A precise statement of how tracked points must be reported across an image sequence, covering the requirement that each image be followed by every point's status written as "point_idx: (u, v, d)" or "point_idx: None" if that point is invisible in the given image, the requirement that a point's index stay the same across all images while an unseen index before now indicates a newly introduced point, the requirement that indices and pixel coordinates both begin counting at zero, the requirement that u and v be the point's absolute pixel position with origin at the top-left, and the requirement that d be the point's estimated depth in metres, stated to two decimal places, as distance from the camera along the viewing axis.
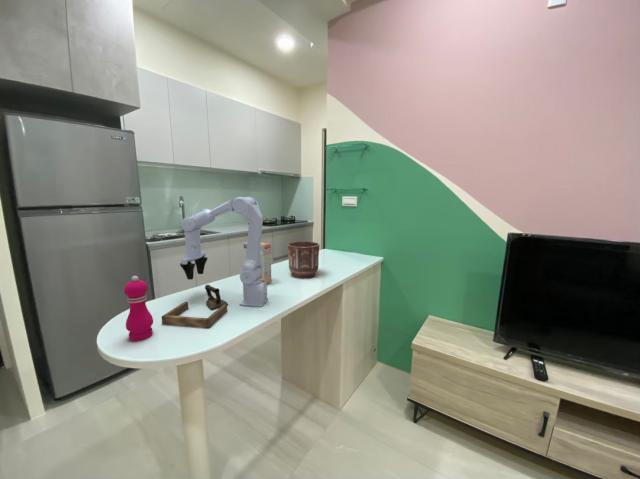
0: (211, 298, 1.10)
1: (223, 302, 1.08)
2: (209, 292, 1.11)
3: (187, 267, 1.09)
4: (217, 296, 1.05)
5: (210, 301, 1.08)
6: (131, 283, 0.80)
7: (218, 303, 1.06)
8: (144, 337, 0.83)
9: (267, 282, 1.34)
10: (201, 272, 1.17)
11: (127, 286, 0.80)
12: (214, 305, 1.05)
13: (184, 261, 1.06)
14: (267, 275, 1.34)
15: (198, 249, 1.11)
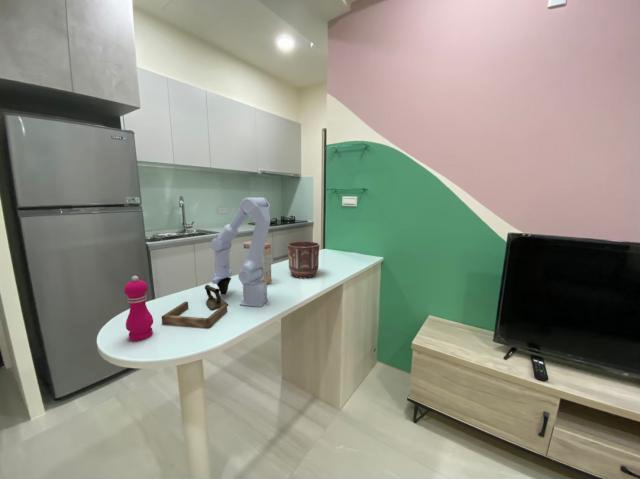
0: (211, 298, 1.10)
1: (223, 302, 1.08)
2: (209, 292, 1.11)
3: (221, 283, 1.16)
4: (217, 296, 1.05)
5: (210, 301, 1.08)
6: (131, 283, 0.80)
7: (218, 303, 1.06)
8: (144, 337, 0.83)
9: (267, 282, 1.34)
10: None
11: (127, 286, 0.80)
12: (214, 305, 1.05)
13: (215, 281, 1.09)
14: (267, 275, 1.34)
15: (227, 268, 1.15)
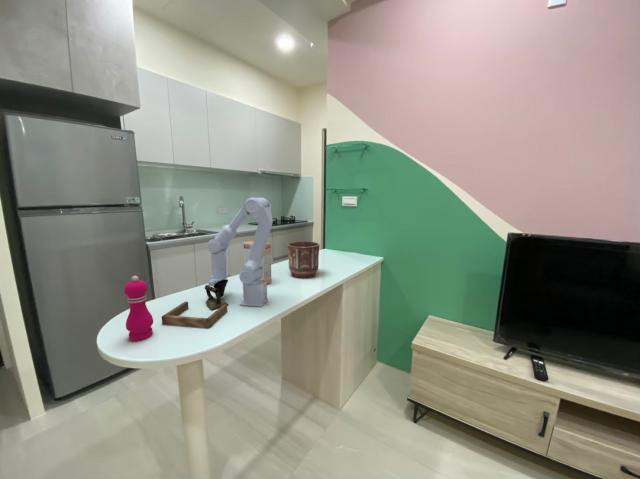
0: (211, 298, 1.10)
1: (223, 302, 1.08)
2: (209, 292, 1.11)
3: (217, 285, 1.14)
4: (217, 296, 1.05)
5: (210, 301, 1.08)
6: (131, 283, 0.80)
7: (218, 303, 1.06)
8: (144, 337, 0.83)
9: (267, 282, 1.34)
10: None
11: (127, 286, 0.80)
12: (214, 305, 1.05)
13: (211, 283, 1.07)
14: (267, 275, 1.34)
15: (224, 270, 1.12)
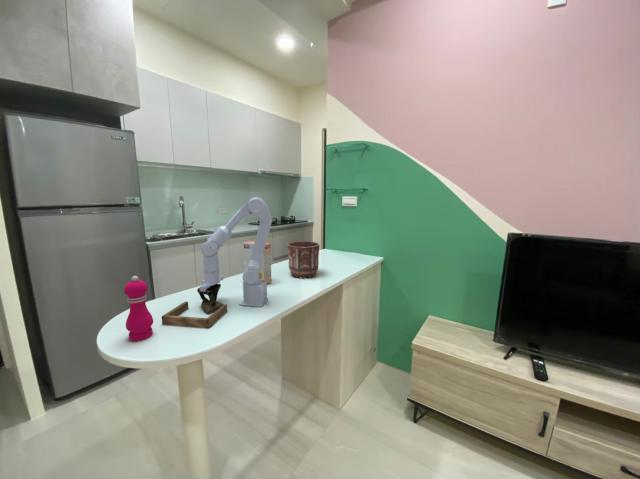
0: (205, 301, 1.06)
1: (219, 303, 1.04)
2: (202, 295, 1.07)
3: (210, 290, 1.08)
4: (212, 298, 1.02)
5: (205, 304, 1.04)
6: (131, 283, 0.80)
7: (214, 305, 1.03)
8: (144, 337, 0.83)
9: (267, 282, 1.34)
10: None
11: (127, 286, 0.80)
12: (210, 308, 1.01)
13: (203, 288, 1.01)
14: (267, 275, 1.34)
15: (216, 274, 1.06)
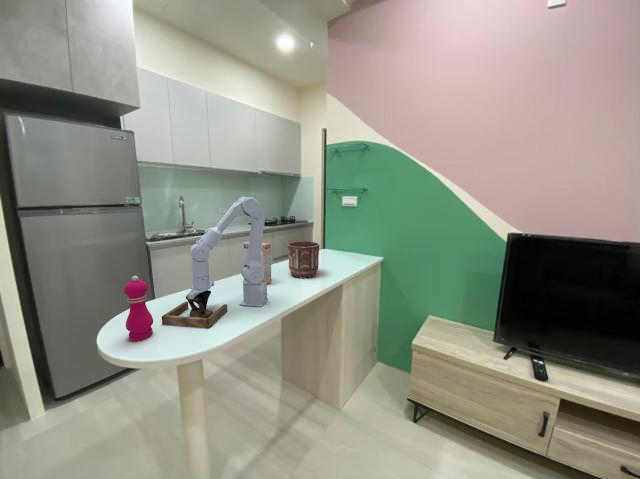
0: (194, 309, 0.99)
1: (208, 312, 0.97)
2: (191, 302, 1.00)
3: (200, 297, 1.01)
4: (200, 306, 0.94)
5: (194, 312, 0.97)
6: (131, 283, 0.80)
7: (203, 314, 0.96)
8: (144, 337, 0.83)
9: (267, 282, 1.34)
10: None
11: (127, 286, 0.80)
12: (198, 317, 0.94)
13: (191, 295, 0.93)
14: (267, 275, 1.34)
15: (206, 280, 0.99)
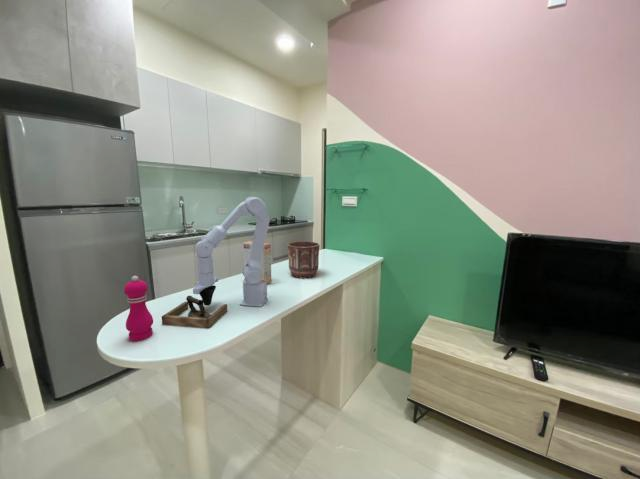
0: (194, 311, 0.98)
1: (208, 315, 0.96)
2: (191, 304, 0.99)
3: (204, 293, 1.03)
4: (201, 308, 0.94)
5: (193, 314, 0.96)
6: (131, 283, 0.80)
7: (202, 316, 0.95)
8: (144, 337, 0.83)
9: (267, 282, 1.34)
10: None
11: (127, 286, 0.80)
12: None
13: (196, 290, 0.96)
14: (267, 275, 1.34)
15: (211, 276, 1.02)
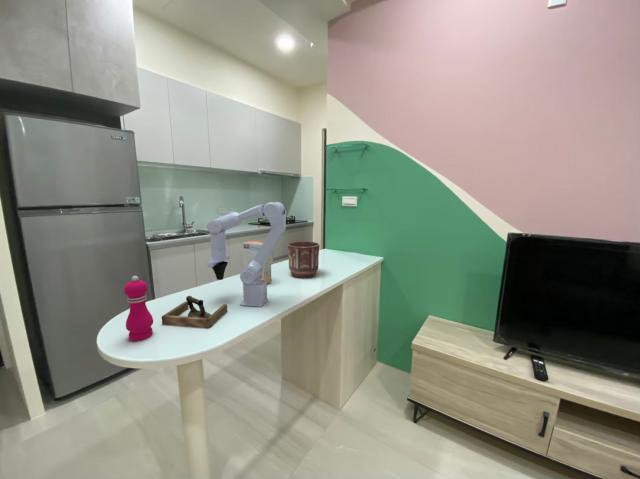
0: (193, 311, 0.98)
1: (208, 315, 0.96)
2: (191, 304, 0.99)
3: (217, 267, 1.11)
4: (201, 309, 0.94)
5: (193, 314, 0.96)
6: (131, 283, 0.80)
7: (202, 316, 0.95)
8: (144, 337, 0.83)
9: (267, 282, 1.34)
10: None
11: (127, 286, 0.80)
12: None
13: (210, 264, 1.04)
14: (267, 275, 1.34)
15: (223, 251, 1.09)
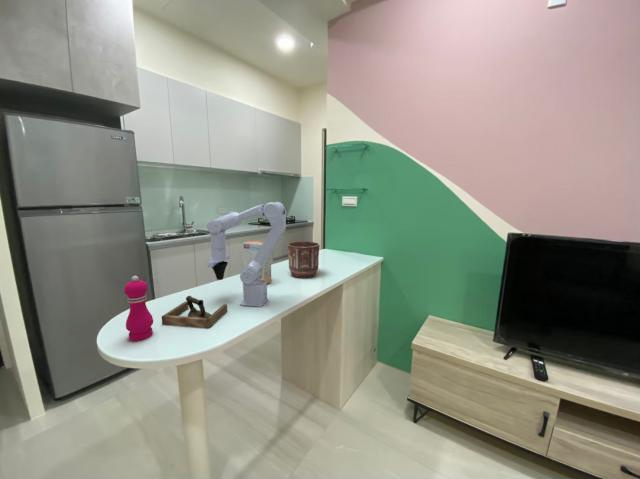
0: (193, 311, 0.98)
1: (208, 315, 0.96)
2: (191, 304, 0.99)
3: (217, 267, 1.11)
4: (201, 309, 0.94)
5: (193, 314, 0.96)
6: (131, 283, 0.80)
7: (202, 316, 0.95)
8: (144, 337, 0.83)
9: (267, 282, 1.34)
10: None
11: (127, 286, 0.80)
12: None
13: (210, 264, 1.04)
14: (267, 275, 1.34)
15: (223, 251, 1.09)
